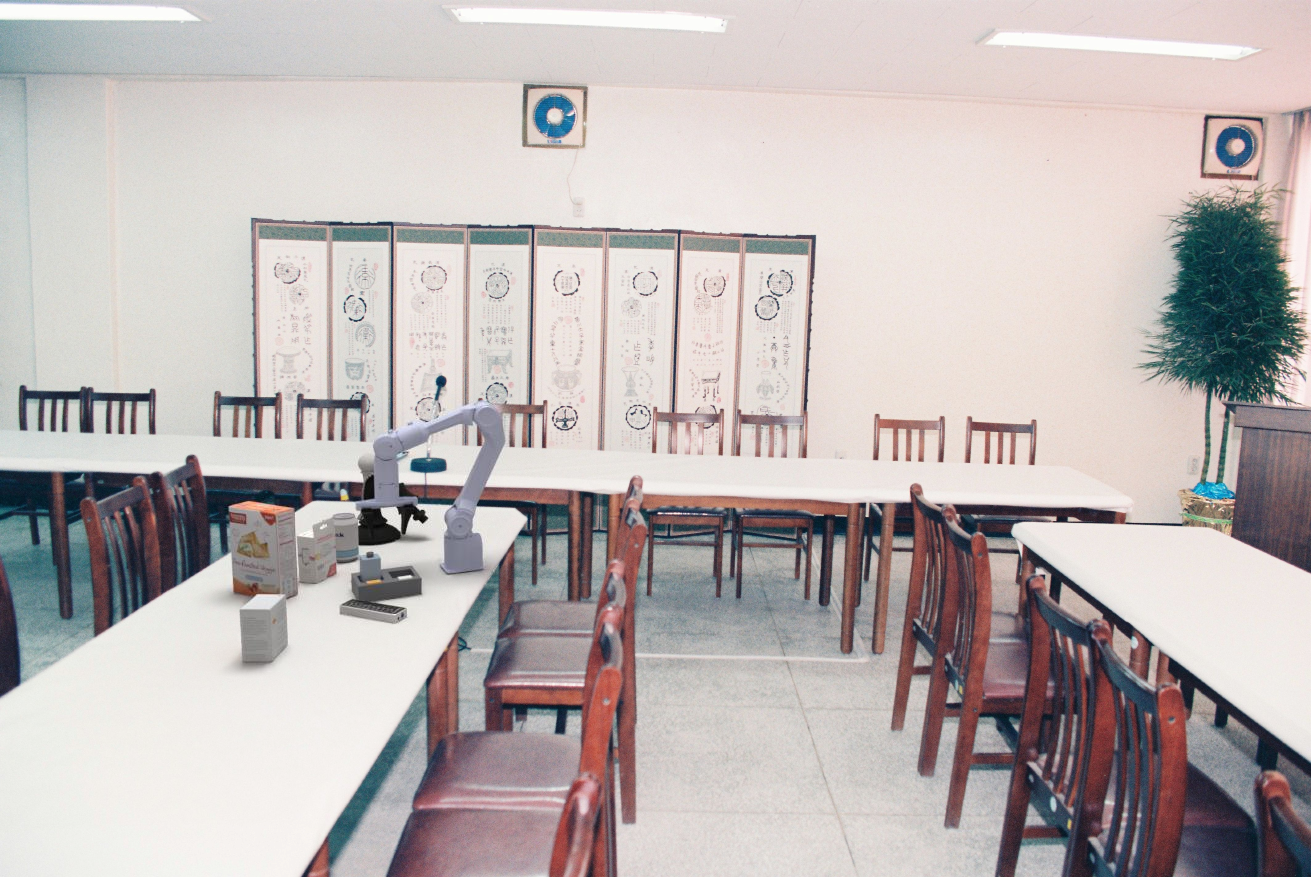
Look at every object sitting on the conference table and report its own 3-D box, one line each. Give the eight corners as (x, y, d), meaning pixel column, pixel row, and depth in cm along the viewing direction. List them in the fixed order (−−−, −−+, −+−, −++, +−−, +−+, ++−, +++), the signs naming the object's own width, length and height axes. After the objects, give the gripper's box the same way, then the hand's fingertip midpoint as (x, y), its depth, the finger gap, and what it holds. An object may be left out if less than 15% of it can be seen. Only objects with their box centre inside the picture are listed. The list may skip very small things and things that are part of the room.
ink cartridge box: (319, 571, 194) (317, 514, 192) (337, 573, 193) (335, 516, 191) (297, 582, 186) (295, 523, 184) (316, 584, 185) (313, 525, 183)
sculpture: (358, 529, 232) (356, 448, 228) (436, 533, 231) (435, 451, 227) (336, 544, 216) (333, 457, 213) (419, 548, 216) (418, 460, 212)
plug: (378, 585, 183) (377, 549, 181) (381, 591, 179) (380, 553, 178) (360, 588, 181) (359, 551, 179) (363, 593, 177) (362, 556, 176)
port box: (411, 581, 189) (411, 564, 189) (421, 594, 181) (421, 576, 180) (351, 589, 182) (351, 572, 182) (358, 603, 174) (358, 585, 173)
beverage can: (324, 561, 202) (323, 516, 200) (344, 554, 208) (343, 511, 206) (345, 565, 199) (343, 520, 198) (364, 557, 206) (363, 514, 204)
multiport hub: (352, 608, 172) (352, 598, 172) (407, 617, 168) (407, 607, 168) (339, 615, 168) (338, 605, 168) (395, 625, 164) (395, 614, 163)
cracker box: (231, 593, 177) (226, 505, 174) (253, 585, 183) (249, 499, 180) (278, 603, 173) (274, 512, 169) (299, 594, 178) (295, 506, 175)
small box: (259, 644, 151) (256, 593, 150) (288, 644, 152) (286, 593, 150) (241, 662, 144) (238, 608, 142) (272, 662, 144) (269, 609, 142)
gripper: (412, 477, 198) (413, 528, 200) (352, 481, 190) (354, 534, 192) (419, 482, 192) (420, 535, 194) (357, 487, 184) (359, 542, 186)
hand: (387, 535), depth 193 cm, fingers open, 7 cm apart
